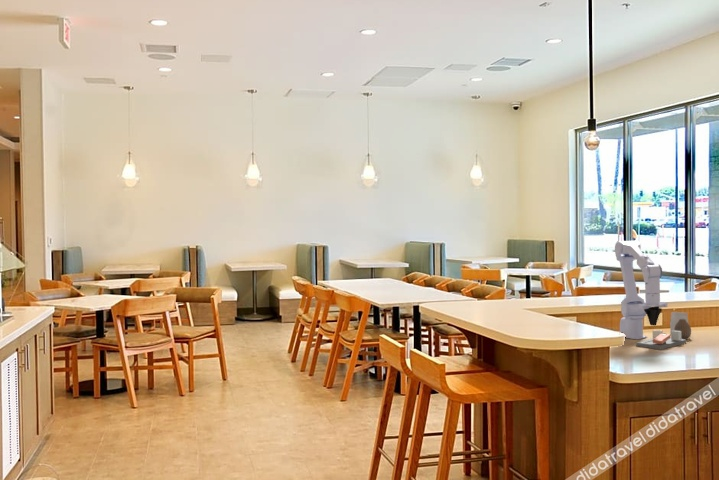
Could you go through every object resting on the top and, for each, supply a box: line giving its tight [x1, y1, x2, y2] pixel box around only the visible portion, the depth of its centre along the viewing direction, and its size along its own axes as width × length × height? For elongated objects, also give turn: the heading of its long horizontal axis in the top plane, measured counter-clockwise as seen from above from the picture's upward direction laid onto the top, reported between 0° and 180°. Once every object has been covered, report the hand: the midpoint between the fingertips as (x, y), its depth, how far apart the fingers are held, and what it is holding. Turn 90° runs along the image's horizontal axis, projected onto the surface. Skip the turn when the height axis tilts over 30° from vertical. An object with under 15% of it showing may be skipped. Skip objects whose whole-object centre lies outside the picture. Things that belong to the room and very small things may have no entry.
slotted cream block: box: [652, 329, 664, 339], centre depth 303 cm, size 3×2×4 cm
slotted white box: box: [670, 330, 682, 341], centre depth 300 cm, size 3×2×4 cm
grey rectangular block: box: [669, 311, 689, 334], centre depth 323 cm, size 4×7×10 cm, turn 48°
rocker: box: [652, 333, 671, 344], centre depth 294 cm, size 4×7×2 cm, turn 127°
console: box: [635, 338, 687, 350], centre depth 300 cm, size 11×20×2 cm, turn 127°
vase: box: [674, 319, 692, 340], centre depth 312 cm, size 7×7×9 cm
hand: (653, 325), depth 299 cm, fingers closed
